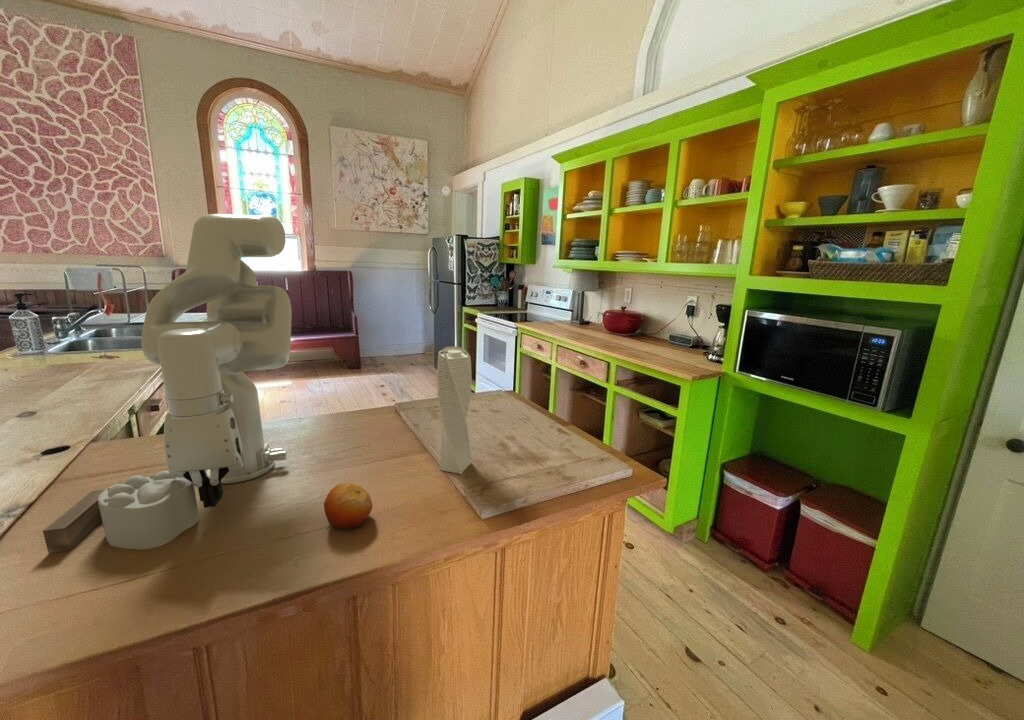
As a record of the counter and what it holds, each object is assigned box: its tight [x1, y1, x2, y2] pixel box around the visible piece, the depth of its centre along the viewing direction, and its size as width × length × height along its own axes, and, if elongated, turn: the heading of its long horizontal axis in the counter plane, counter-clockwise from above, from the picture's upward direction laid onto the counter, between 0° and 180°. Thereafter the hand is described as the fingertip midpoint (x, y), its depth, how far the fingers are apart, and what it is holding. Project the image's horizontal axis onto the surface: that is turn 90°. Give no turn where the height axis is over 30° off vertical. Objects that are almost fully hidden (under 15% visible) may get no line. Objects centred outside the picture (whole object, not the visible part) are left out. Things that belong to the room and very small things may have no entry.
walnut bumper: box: [42, 489, 105, 554], centre depth 75 cm, size 14×12×4 cm
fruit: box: [323, 482, 373, 530], centre depth 76 cm, size 8×8×8 cm
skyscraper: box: [436, 346, 473, 475], centre depth 94 cm, size 8×8×28 cm
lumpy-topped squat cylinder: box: [98, 470, 200, 551], centre depth 74 cm, size 10×13×9 cm
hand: (212, 503), depth 77 cm, fingers closed
